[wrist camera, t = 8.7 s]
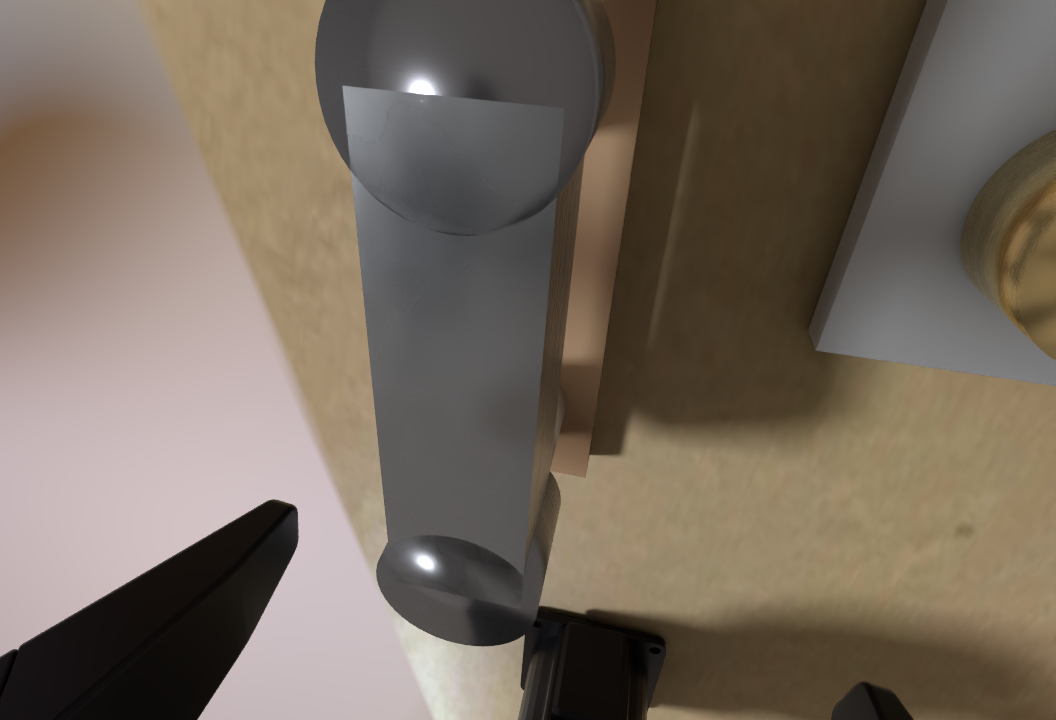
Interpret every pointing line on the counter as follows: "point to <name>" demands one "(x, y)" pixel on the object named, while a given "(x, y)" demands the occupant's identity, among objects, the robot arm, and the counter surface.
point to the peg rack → (600, 236)
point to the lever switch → (1018, 241)
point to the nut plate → (942, 194)
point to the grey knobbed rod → (466, 278)
